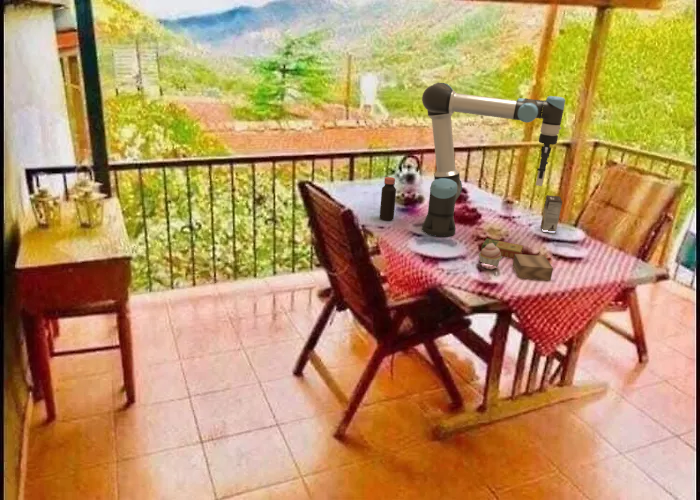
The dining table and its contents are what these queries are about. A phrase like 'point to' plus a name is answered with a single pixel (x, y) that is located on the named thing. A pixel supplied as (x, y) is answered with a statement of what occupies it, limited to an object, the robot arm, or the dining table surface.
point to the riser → (532, 267)
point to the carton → (505, 247)
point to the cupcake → (490, 255)
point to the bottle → (388, 200)
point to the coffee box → (551, 213)
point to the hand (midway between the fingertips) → (539, 181)
